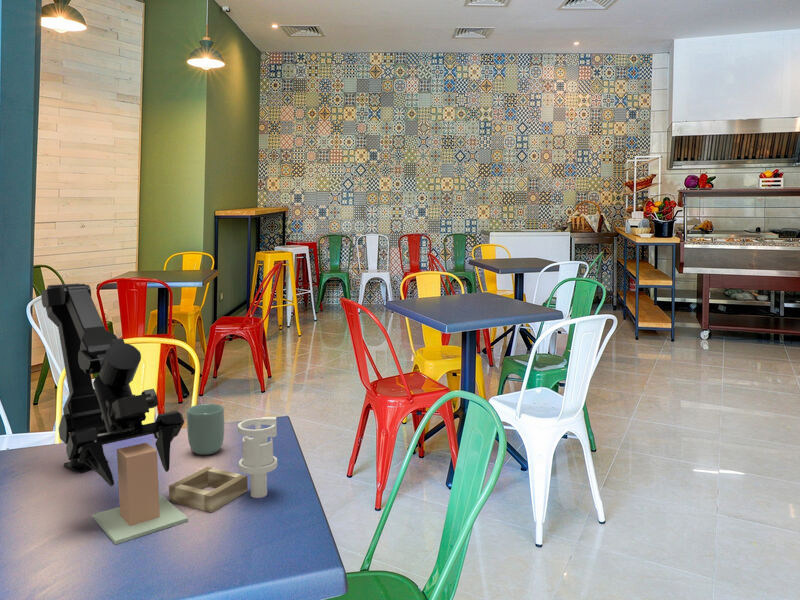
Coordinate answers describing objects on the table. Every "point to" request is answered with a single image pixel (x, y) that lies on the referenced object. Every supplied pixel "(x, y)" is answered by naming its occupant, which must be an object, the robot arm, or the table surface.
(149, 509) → the block
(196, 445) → the cup
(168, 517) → the mat
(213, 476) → the pocket frame
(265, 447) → the white flanged cylinder housing
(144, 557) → the table surface
